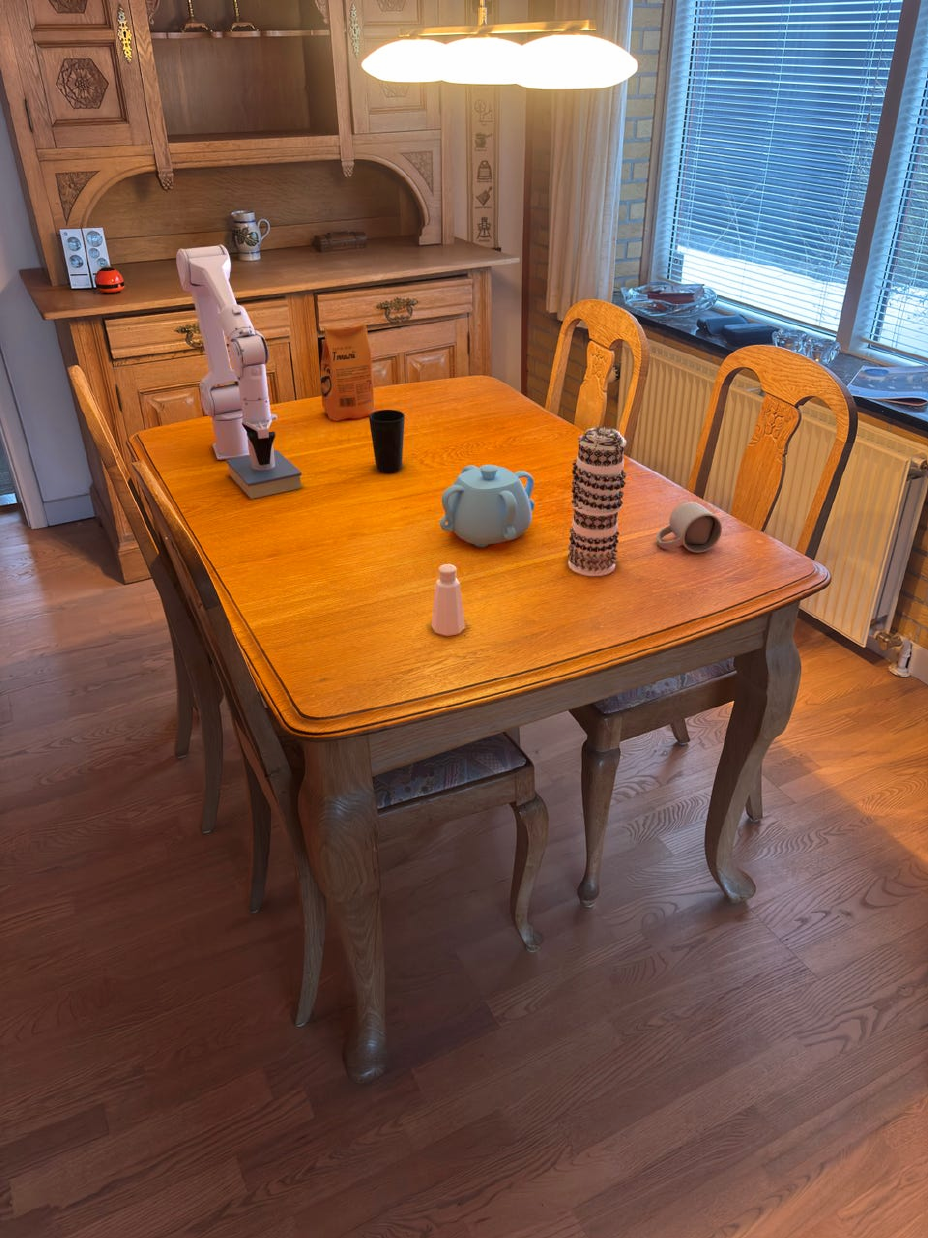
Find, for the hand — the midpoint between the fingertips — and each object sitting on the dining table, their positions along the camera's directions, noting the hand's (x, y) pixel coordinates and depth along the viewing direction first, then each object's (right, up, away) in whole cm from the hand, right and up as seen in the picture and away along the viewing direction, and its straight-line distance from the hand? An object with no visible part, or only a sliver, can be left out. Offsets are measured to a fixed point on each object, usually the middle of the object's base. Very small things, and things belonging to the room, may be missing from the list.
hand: (262, 459), depth 196 cm
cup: (+26, -1, +9) cm, 28 cm away
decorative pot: (+47, -17, -18) cm, 53 cm away
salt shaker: (+40, -35, -46) cm, 71 cm away
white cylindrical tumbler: (0, -1, +1) cm, 2 cm away
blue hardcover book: (0, -4, +3) cm, 5 cm away
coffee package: (+13, +18, +38) cm, 45 cm away
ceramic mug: (+84, -20, -22) cm, 89 cm away
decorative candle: (+65, -24, -29) cm, 75 cm away
